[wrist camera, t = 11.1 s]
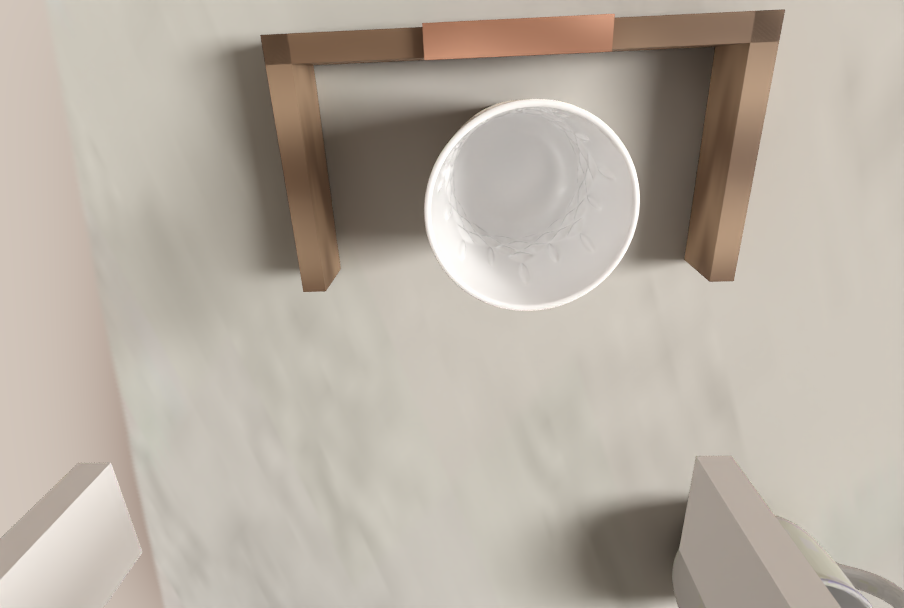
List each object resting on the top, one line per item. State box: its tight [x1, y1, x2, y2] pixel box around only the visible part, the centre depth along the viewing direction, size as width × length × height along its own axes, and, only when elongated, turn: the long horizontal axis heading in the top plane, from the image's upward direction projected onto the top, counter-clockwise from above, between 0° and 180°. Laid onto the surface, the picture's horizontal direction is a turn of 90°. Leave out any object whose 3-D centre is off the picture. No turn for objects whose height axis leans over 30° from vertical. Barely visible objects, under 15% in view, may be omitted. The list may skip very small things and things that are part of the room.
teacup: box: [672, 516, 904, 608], centre depth 35 cm, size 14×11×8 cm
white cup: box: [424, 99, 640, 311], centre depth 24 cm, size 8×8×10 cm
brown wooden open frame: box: [260, 9, 785, 292], centre depth 26 cm, size 12×22×4 cm, turn 92°
